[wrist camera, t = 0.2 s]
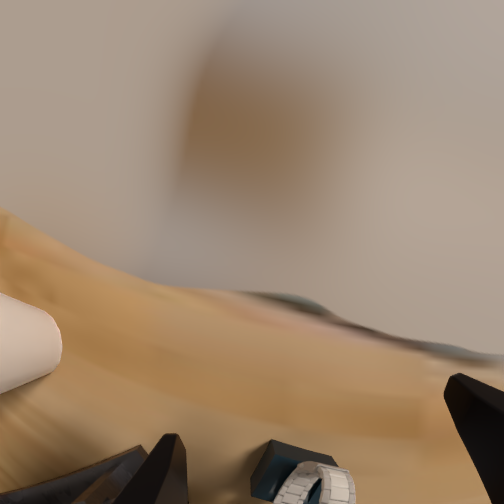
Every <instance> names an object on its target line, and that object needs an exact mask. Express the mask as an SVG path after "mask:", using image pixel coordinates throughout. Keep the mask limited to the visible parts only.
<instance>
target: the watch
mask: <svg viewBox="0 0 504 504" xmlns="http://www.w3.org/2000/svg"><path fill="white" fill-rule="evenodd" d="M250 482H251V496H252V497H256V498H259V499H263V500H266V501H270V502H273V504H355V486H354V483H353V482H354V481H353V479H352V477H351V476H350V474H349V470H347V469H344V468H340V467H338V465H337V464H336V462H335V461H334V459H333V458H332V456H329V455H324V454H320V453H317V452H313V451H309V450H306V449H302V448H298V447H295V446H292V445H288V444H285V443H282V442H279V441H276V440H273V439H272V440H271V441H270V443H269V445H268V447H267V449H266V451H265V453H264V455H263V457H262V458H261V460H260V462H259V464H258V466H257V468H256V469H255V471H254V473H253V475H252V476H251V478H250ZM334 500H335V501H334Z"/></svg>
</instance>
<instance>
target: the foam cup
mask: <svg viewBox="0 0 504 504" xmlns="http://www.w3.org/2000/svg"><path fill="white" fill-rule="evenodd" d="M61 353H62V341H61V334H60V330H59V329H58V327H57V325H56V323H55V321H54V319H53V318H52V317H51V316H50V315H49V314H47V313H46V312H45V311H44V310H41V309H39V308H37V307H34V306H31V305H29V304H26V303H24V302H21V301H19V300H16V299H14V298H12V297H9V296H7V295H5V294H2V293H0V394H2V393H4V392H6V391H9V390H11V389H14V388H16V387H18V386H21V385H23V384H25V383H28V382H30V381H32V380H35V379H37V378H39V377H42V376H44V375H46V374H49V373H50V372H53V371H54V370H55V368H56V367H57V365H58V364H59V362H60V359H61Z"/></svg>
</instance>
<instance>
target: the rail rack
mask: <svg viewBox="0 0 504 504" xmlns="http://www.w3.org/2000/svg"><path fill="white" fill-rule="evenodd" d="M147 456H148V454H147V453H146V451H145V450H144V449H143V447H142V446H141V445H139V446H137V447H134V448H132V449H130V450H128V451H125V452H123V453H121V454H118V455H116V456H114V457H111V458H109V459H106V460H104V461H101V462H99V463H96V464H94V465H91V466H89V467H86V468H83V469H81V470H78V471H75V472H72V473H69V474H67V475H64V476H61V477H58V478H55V479H52V480H48V481H45V482H42V483H39V484H35V485H32V486H28V487H24V488H21V489H17V490H13V491H9V492H5V493H0V504H101V503H102V502H104V501H107V500H111V499H114V498H116V497H117V496H118V494H119V493H120V492H121V491H122V489H123V488H124V487H125V485H126V484H127V483H128V481H129V480H130V479H131V478H132V476H133V475H134V474H135V472H136V471H137V470H138V468H139V467H140V466H141V464H142V463H143V462H144V460H145V459H146V458H147ZM187 504H189V502H188V501H187Z"/></svg>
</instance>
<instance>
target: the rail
mask: <svg viewBox="0 0 504 504" xmlns="http://www.w3.org/2000/svg"><path fill="white" fill-rule="evenodd" d="M114 500H115V498H114V499H111V500H107V501H104V502H102V503H101V504H111V503H112V502H113V501H114Z"/></svg>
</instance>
